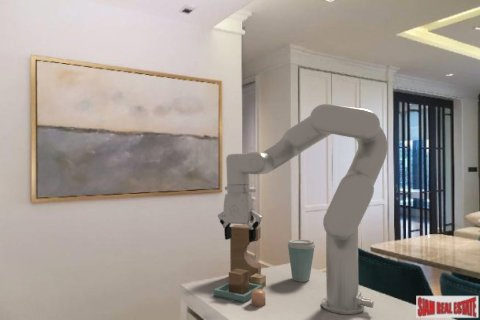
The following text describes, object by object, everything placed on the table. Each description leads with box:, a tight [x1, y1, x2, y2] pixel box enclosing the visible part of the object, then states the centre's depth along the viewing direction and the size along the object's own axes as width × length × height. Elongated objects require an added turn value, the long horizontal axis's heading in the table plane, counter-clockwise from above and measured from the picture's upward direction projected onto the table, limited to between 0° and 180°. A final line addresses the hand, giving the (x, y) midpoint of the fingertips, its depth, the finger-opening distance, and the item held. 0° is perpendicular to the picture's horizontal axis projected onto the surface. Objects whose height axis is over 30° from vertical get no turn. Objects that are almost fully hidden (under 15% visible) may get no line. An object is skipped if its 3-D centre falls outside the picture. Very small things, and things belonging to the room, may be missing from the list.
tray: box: [213, 281, 264, 304], centre depth 118 cm, size 12×12×2 cm
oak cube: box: [250, 273, 267, 289], centre depth 125 cm, size 4×4×4 cm
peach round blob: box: [250, 289, 266, 308], centre depth 109 cm, size 4×4×4 cm
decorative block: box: [229, 224, 262, 281], centre depth 135 cm, size 11×6×20 cm, turn 72°
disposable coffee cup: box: [287, 239, 316, 282], centre depth 134 cm, size 11×11×15 cm
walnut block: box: [228, 269, 250, 295], centre depth 118 cm, size 5×5×7 cm
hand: (240, 239), depth 118 cm, fingers open, 9 cm apart
